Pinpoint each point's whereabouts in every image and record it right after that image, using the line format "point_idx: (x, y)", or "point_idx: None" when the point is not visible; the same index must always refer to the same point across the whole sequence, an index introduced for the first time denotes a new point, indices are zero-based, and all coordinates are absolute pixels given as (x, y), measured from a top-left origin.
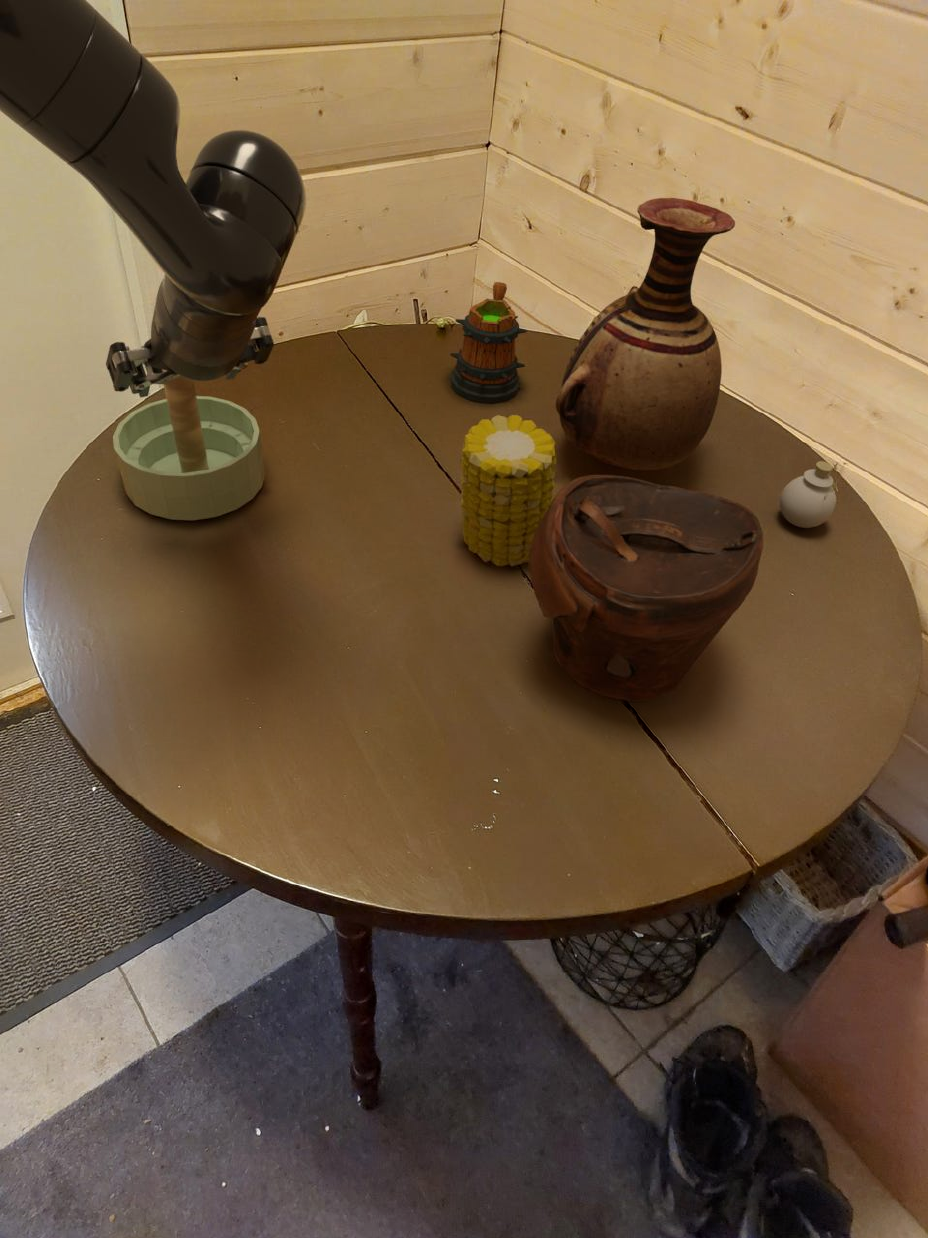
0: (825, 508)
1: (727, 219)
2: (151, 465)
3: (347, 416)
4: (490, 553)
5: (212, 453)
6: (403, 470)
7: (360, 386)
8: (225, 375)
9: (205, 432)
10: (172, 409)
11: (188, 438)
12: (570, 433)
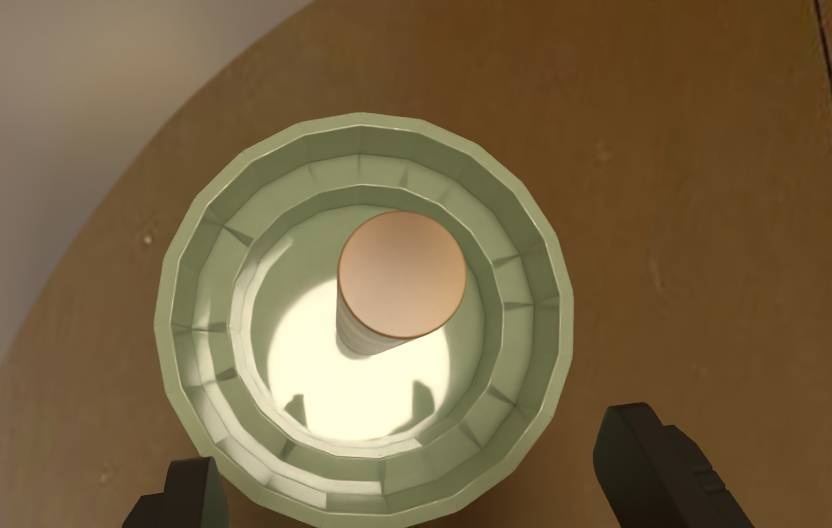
0: None
1: None
2: (275, 242)
3: (745, 183)
4: None
5: None
6: (820, 428)
7: (796, 79)
8: (596, 452)
9: (426, 205)
10: (346, 326)
11: (371, 350)
12: None
